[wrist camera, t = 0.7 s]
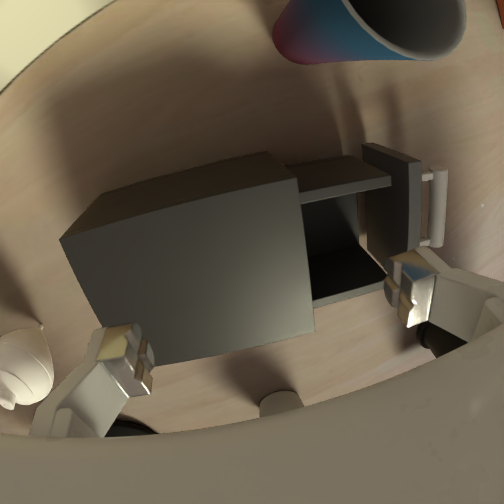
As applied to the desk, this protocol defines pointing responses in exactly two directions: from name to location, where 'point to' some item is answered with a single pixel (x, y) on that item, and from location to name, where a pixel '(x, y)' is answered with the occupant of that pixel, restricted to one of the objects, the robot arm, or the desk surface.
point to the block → (501, 10)
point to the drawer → (377, 212)
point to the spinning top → (24, 367)
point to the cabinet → (199, 258)
